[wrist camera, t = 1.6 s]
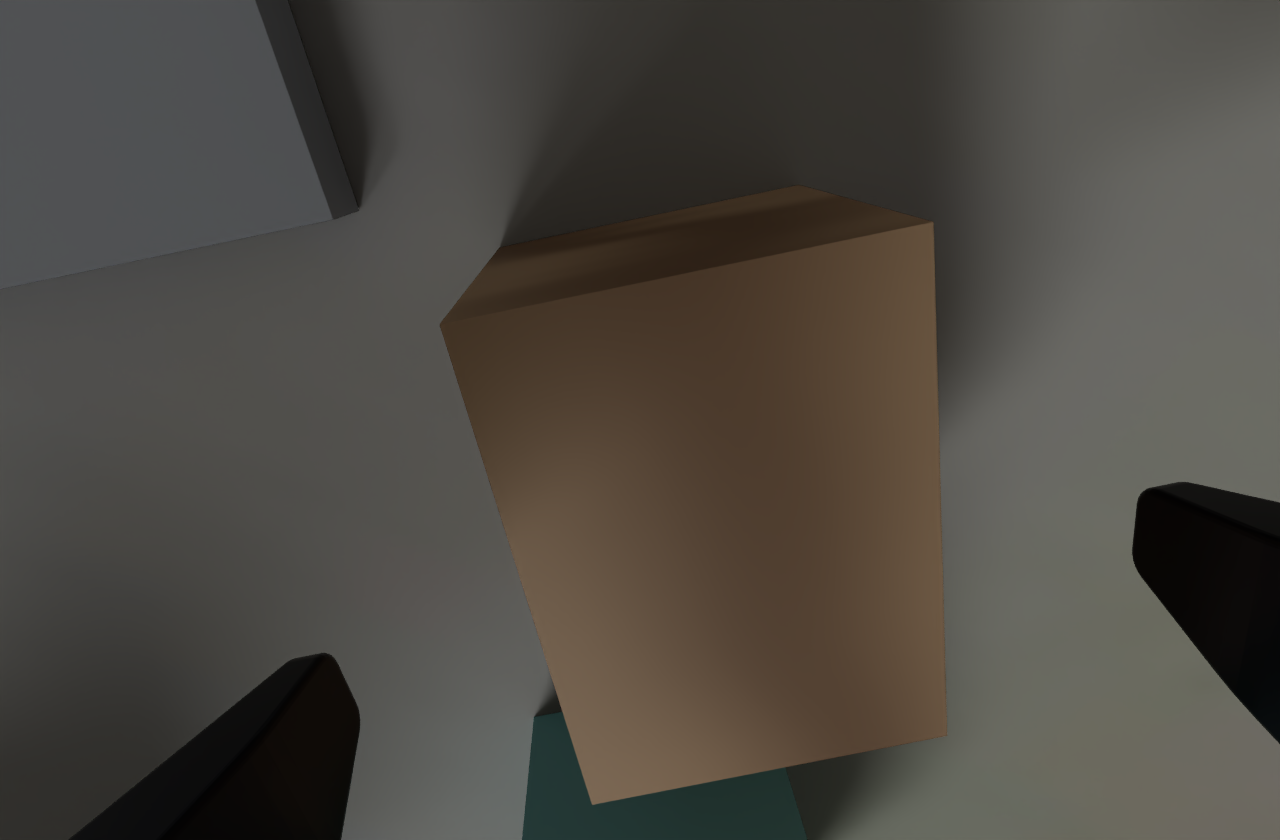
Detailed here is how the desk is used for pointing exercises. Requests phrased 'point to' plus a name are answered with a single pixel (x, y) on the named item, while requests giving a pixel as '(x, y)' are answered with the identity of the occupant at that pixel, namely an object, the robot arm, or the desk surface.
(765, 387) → the walnut brick
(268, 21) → the baseplate
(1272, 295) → the desk surface
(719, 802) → the teal brick
